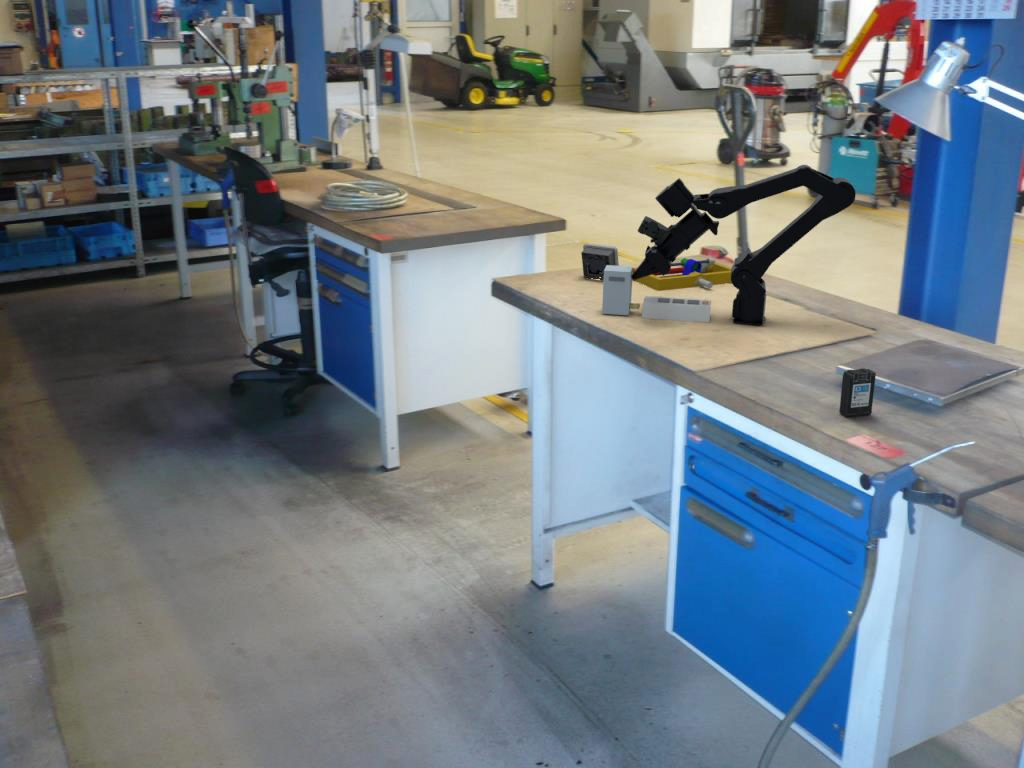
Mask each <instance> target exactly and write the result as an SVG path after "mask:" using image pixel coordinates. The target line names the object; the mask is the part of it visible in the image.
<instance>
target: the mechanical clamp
mask: <svg viewBox="0 0 1024 768" xmlns="http://www.w3.org/2000/svg"><path fill="white" fill-rule="evenodd" d="M715 260H716V259H715V258H714V257H709V258H706V259H705V260H696V259H693V258H689V259H688V258H685V257H684V258H682V259H681V260H680V262H671V269H670V271H669V272H668V273H667V274H666V277H665V276H664V277H660V276H663V275H662V274H661V273H660V272H659V273H655V274H652V275H649V276H645V277H642V278H639V279H636V280H633V279H632V281H634V282H637V283H638V282H639V283H638V284H641V285H643V284H644V286H645V285H646V286H645V287H647V288H650V289H652V290H655V291H656V292H661V291H671V290H672V291H673V290H680V289H689V288H690V289H691V288H697V287H698V286H699V287H705V288H708V289H711V288H713V286H715V285H716V286H717V285H718V286H719V285H726V283H727V284H732V282H731V268H732V267H730V266H727V265H724V264H722V263H719V262H716V261H715ZM679 266H680V267H679ZM638 267H639V266H636V267H633V273H634V272H635V270H636V269H637V268H638ZM672 267H673V268H672ZM675 274H676V276H667V275H675ZM677 274H682V275H677ZM699 287H698V288H699Z"/></svg>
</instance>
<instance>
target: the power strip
mask: <svg viewBox="0 0 1024 768" xmlns="http://www.w3.org/2000/svg"><path fill="white" fill-rule="evenodd" d="M711 307H712V299H701V298H700V299H699V298H688V297H687V298H685V297H683V298H682V297H669V296H668V297H667V296H654V295H652V296H651V295H645V296H644V298H643V302H642V308H641V309H642V310H641V311H642V312H641V319H649V318H653V319H652V320H665V321H666V320H667V321H682V322H694V321H697V322H696V323H710V322H711V321H710V317H711Z"/></svg>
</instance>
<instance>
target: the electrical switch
mask: <svg viewBox="0 0 1024 768" xmlns="http://www.w3.org/2000/svg"><path fill="white" fill-rule="evenodd" d="M582 246H583V247H582V251H581V252H580V253H581V262H582V273H583V279H584V278H588V279H587V280H589V279H591V278H593V279H600V280H604V269H605V267H606V266H607V265H613V266H620V265H619V264H620V263H619V255H618V254H619V252H618V248H617V247H616V246H613V245H612V246H610V245H602V244H597V243H596V244H595V243H585V244H583V245H582ZM596 277H597V278H596ZM599 277H601V278H599Z"/></svg>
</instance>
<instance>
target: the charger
mask: <svg viewBox="0 0 1024 768" xmlns="http://www.w3.org/2000/svg"><path fill="white" fill-rule="evenodd" d="M633 268H634V267H633V266H627V265H619V266H613V265H607V266H606V267H605V269H604V280H603V281H602V282H603V286H602V304H601V305H602V309H601V313H602V315H617V316H618V315H619V316H620V315H621V316H629V315H630V312H631V310H640V307H641V303H639V302H638V303H636V302H632V292H633V290H632V289H633V280H632V277H631V276H632V274H633Z"/></svg>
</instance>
